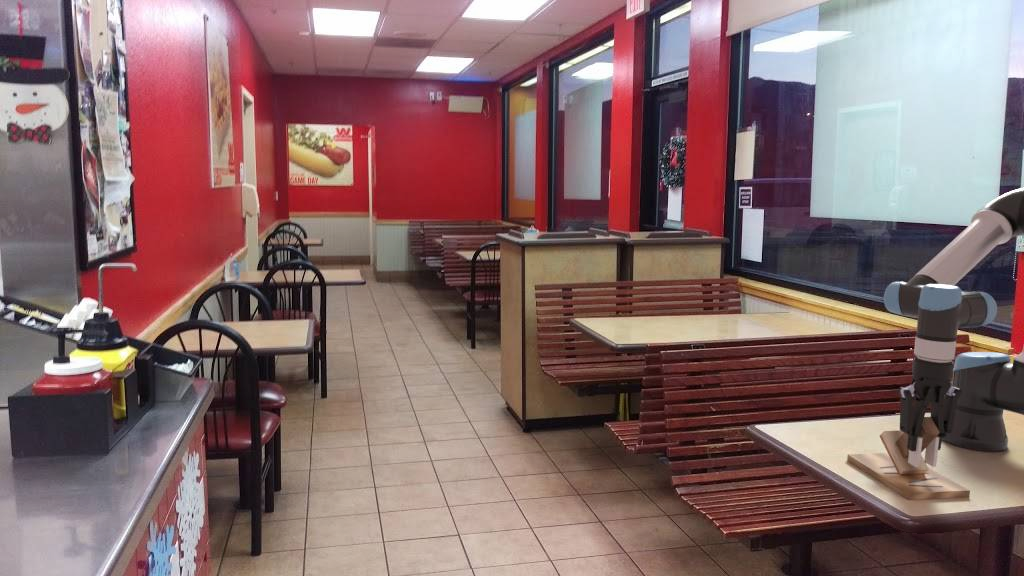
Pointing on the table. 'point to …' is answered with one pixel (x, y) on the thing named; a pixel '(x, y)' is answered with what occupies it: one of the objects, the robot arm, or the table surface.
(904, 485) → the board
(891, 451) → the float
